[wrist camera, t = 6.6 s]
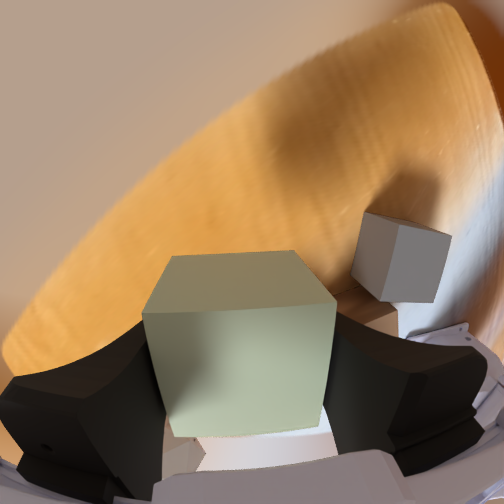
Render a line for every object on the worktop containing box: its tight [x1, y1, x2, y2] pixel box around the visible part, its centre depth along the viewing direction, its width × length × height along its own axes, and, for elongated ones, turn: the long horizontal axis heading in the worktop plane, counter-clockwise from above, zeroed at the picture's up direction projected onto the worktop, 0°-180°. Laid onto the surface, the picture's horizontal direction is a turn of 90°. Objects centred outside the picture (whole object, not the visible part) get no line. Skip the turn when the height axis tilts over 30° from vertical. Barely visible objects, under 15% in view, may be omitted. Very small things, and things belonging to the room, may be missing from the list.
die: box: [162, 415, 206, 480], centre depth 21 cm, size 8×9×10 cm
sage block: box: [142, 250, 337, 437], centre depth 10 cm, size 5×5×5 cm
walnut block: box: [333, 286, 398, 337], centre depth 21 cm, size 5×5×5 cm
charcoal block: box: [350, 212, 452, 303], centre depth 19 cm, size 5×5×5 cm
